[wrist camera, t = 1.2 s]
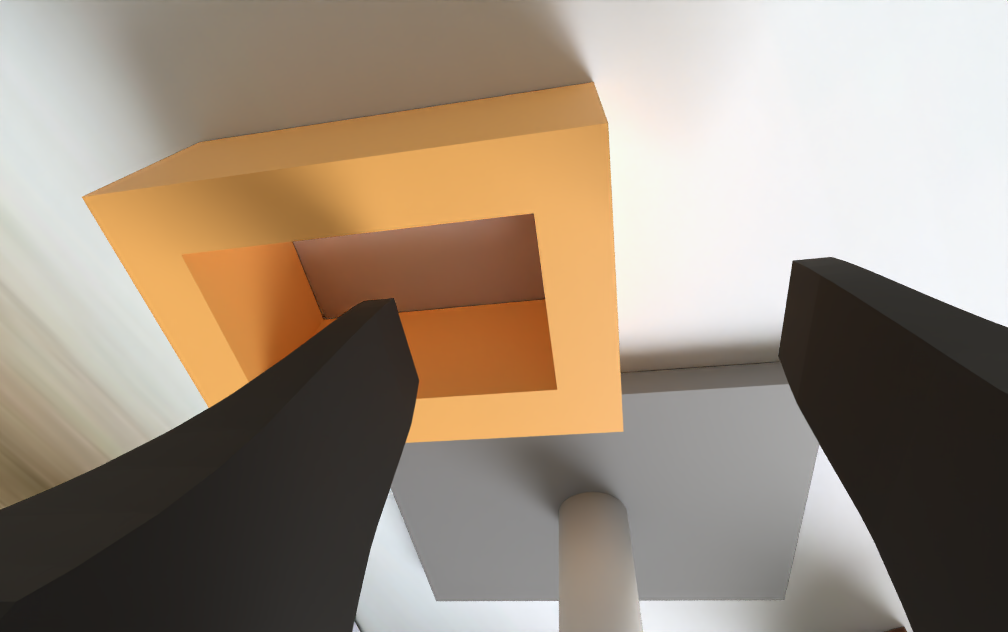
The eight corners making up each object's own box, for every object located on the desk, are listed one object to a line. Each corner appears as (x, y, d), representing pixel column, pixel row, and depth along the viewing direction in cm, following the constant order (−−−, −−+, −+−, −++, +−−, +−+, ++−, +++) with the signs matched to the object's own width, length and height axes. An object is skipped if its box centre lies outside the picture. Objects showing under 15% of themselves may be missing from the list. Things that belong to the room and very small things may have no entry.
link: (298, 358, 17) (235, 451, 14) (199, 141, 13) (81, 197, 10) (609, 333, 16) (623, 431, 12) (593, 82, 12) (607, 122, 9)
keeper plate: (440, 578, 23) (409, 743, 18) (369, 390, 18) (294, 554, 13) (775, 575, 21) (842, 760, 16) (818, 359, 16) (944, 543, 10)
